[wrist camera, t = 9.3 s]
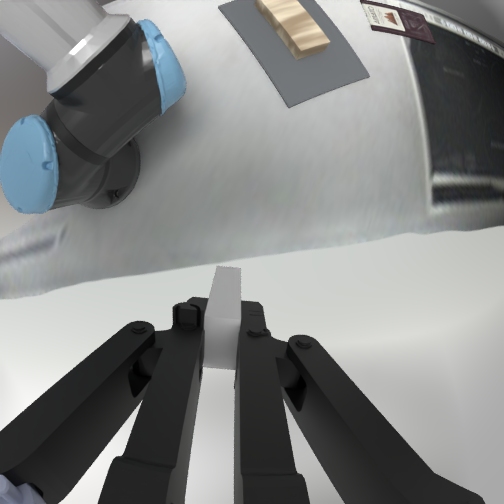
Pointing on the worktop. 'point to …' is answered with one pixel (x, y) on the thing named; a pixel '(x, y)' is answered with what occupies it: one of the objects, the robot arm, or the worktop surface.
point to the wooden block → (294, 26)
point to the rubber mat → (282, 60)
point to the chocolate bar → (397, 21)
